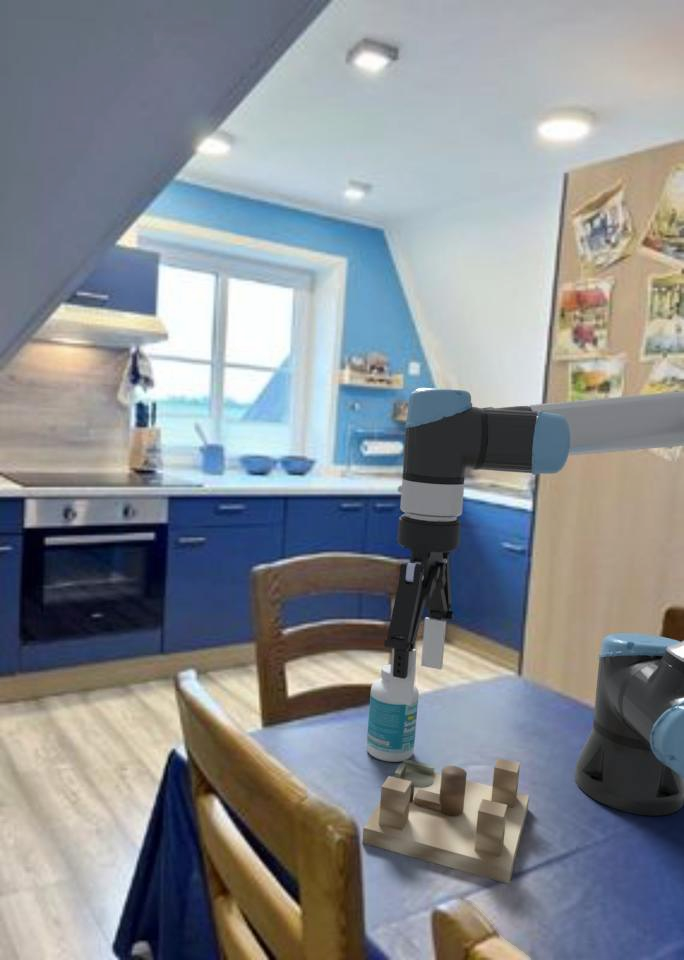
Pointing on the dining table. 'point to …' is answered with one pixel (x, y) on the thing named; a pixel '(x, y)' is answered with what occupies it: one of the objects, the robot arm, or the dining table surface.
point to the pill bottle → (390, 722)
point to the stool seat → (452, 821)
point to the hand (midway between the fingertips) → (416, 683)
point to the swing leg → (446, 792)
